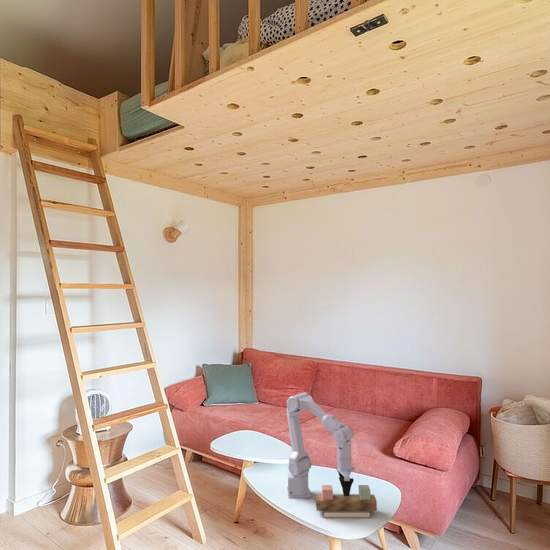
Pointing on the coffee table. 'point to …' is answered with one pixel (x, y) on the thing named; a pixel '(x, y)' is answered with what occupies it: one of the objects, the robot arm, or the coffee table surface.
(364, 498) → the pale green cube
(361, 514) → the block
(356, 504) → the brown wooden bar
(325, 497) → the pink cube
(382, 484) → the coffee table surface
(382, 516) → the coffee table surface
